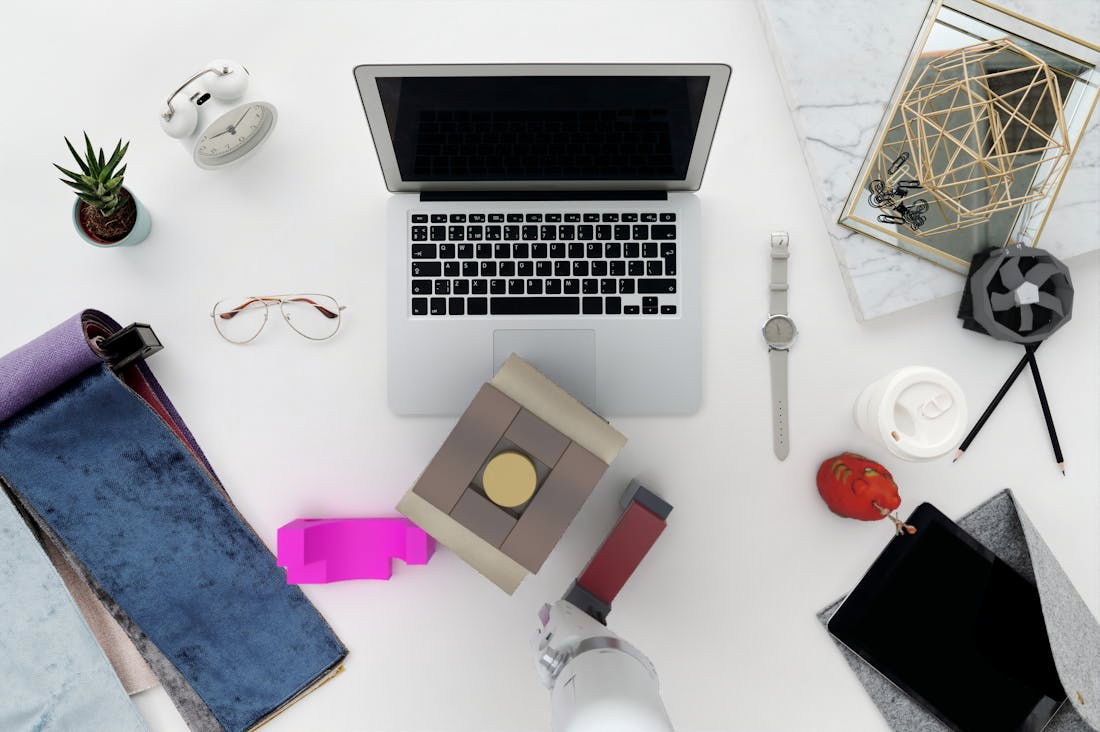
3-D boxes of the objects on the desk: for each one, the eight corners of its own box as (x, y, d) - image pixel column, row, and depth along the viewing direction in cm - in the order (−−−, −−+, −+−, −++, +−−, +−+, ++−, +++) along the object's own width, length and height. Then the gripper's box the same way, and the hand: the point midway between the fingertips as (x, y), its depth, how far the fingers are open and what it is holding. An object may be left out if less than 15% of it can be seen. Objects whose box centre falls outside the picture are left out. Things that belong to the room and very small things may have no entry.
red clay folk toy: (885, 464, 86) (958, 480, 71) (866, 524, 86) (936, 553, 71) (820, 443, 86) (879, 455, 71) (801, 503, 86) (857, 528, 71)
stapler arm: (595, 622, 79) (594, 633, 77) (559, 597, 79) (558, 608, 77) (668, 521, 77) (669, 529, 75) (631, 497, 77) (632, 504, 75)
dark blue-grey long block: (599, 607, 85) (604, 628, 77) (554, 576, 85) (555, 595, 77) (674, 494, 85) (687, 504, 78) (629, 464, 85) (638, 471, 78)
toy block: (300, 573, 85) (277, 591, 77) (300, 516, 85) (277, 529, 77) (436, 572, 85) (426, 589, 77) (436, 515, 85) (426, 527, 78)
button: (518, 511, 60) (516, 517, 57) (475, 482, 60) (472, 487, 57) (546, 468, 60) (547, 472, 57) (504, 440, 60) (502, 442, 57)
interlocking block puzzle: (525, 541, 85) (518, 613, 58) (432, 478, 85) (382, 521, 58) (607, 420, 86) (637, 435, 59) (514, 358, 86) (502, 344, 59)
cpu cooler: (1064, 353, 81) (971, 327, 81) (1029, 355, 86) (942, 331, 86) (1088, 258, 81) (996, 232, 81) (1052, 267, 87) (965, 242, 87)
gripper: (487, 677, 55) (501, 611, 74) (660, 796, 55) (630, 700, 73) (545, 590, 56) (545, 545, 74) (717, 707, 55) (674, 633, 74)
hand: (587, 622), depth 74 cm, fingers closed
